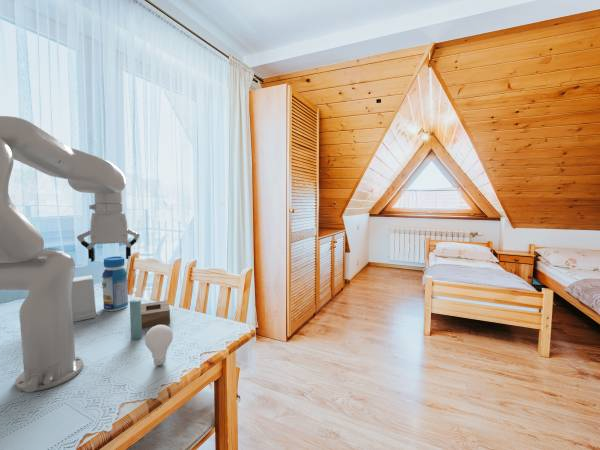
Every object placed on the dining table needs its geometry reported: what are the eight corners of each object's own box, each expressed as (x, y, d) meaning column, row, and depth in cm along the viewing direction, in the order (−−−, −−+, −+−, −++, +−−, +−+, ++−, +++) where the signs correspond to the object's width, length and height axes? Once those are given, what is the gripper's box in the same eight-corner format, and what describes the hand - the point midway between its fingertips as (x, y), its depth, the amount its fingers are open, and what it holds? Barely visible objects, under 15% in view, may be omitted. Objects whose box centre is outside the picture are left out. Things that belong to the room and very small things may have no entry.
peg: (141, 338, 89) (140, 302, 87) (130, 340, 87) (129, 303, 86) (142, 334, 91) (140, 298, 90) (131, 336, 90) (130, 300, 89)
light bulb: (166, 355, 80) (165, 318, 79) (178, 364, 76) (177, 325, 75) (141, 365, 75) (140, 326, 74) (152, 376, 71) (151, 334, 70)
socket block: (170, 323, 99) (169, 310, 99) (137, 329, 95) (136, 315, 94) (168, 313, 108) (168, 300, 108) (138, 317, 103) (137, 304, 103)
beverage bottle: (126, 310, 109) (124, 259, 107) (100, 313, 106) (97, 261, 104) (130, 302, 117) (128, 255, 115) (106, 304, 114) (104, 256, 112)
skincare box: (95, 312, 107) (93, 274, 105) (96, 318, 102) (94, 278, 101) (66, 318, 102) (64, 277, 100) (66, 324, 97) (63, 282, 95)
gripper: (73, 209, 86) (76, 264, 87) (139, 209, 95) (140, 259, 96) (77, 208, 92) (80, 259, 94) (138, 208, 101) (139, 255, 103)
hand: (110, 259), depth 95 cm, fingers open, 9 cm apart
